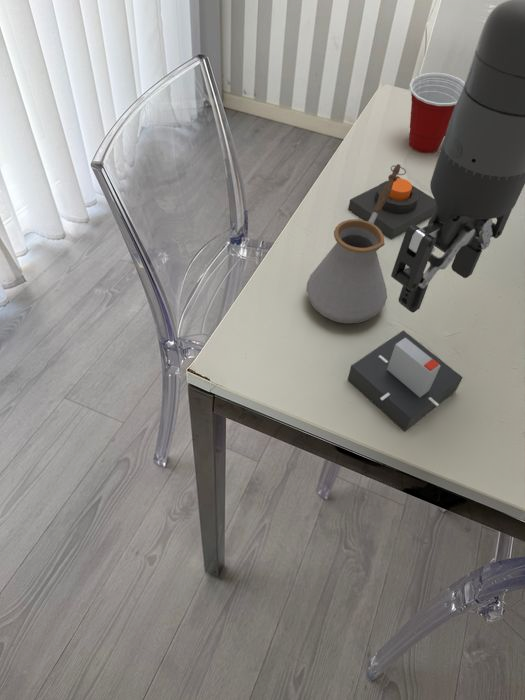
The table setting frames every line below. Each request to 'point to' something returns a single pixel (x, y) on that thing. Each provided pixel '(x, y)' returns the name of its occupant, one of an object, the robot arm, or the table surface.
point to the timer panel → (400, 384)
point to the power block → (394, 210)
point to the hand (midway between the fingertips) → (435, 289)
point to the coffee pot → (352, 269)
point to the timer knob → (413, 367)
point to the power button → (400, 190)
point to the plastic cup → (432, 109)
